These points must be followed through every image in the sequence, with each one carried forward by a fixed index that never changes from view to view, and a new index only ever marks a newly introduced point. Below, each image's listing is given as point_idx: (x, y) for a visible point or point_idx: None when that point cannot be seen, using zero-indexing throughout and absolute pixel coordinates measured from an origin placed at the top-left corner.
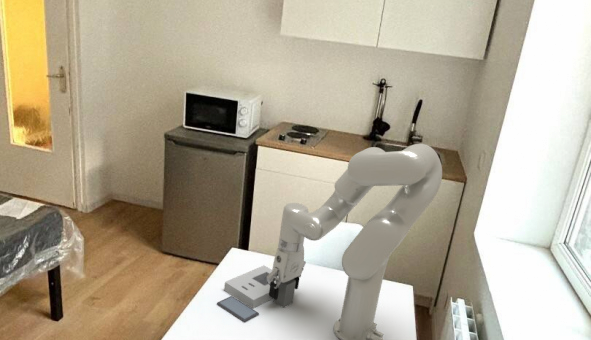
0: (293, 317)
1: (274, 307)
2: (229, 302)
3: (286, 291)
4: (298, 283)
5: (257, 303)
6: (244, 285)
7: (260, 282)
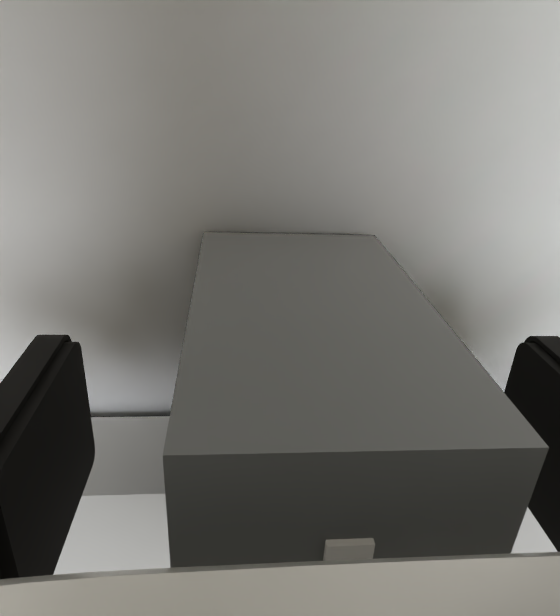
0: (452, 12)
1: None
2: None
3: (447, 347)
4: (2, 391)
5: None
6: None
7: None
